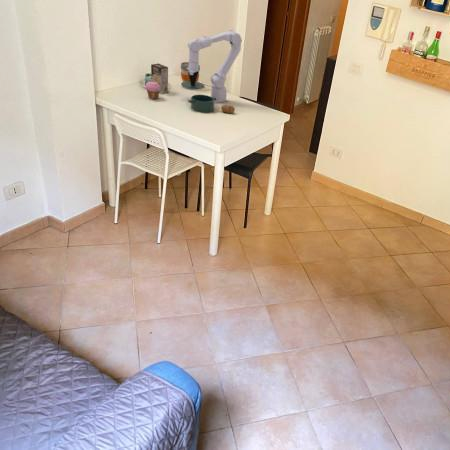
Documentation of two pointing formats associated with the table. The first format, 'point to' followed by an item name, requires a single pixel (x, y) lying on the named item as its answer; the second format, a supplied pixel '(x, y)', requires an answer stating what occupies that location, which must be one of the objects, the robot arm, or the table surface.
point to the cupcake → (153, 89)
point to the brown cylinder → (227, 108)
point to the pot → (202, 103)
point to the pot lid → (195, 86)
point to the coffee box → (160, 76)
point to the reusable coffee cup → (185, 72)
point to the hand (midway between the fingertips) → (193, 83)
